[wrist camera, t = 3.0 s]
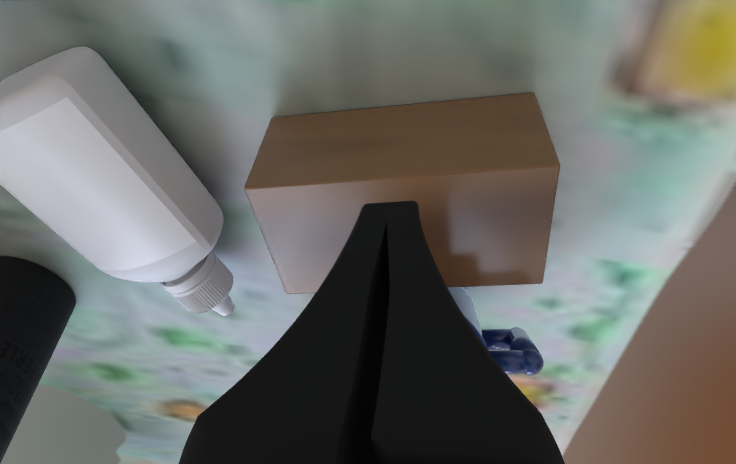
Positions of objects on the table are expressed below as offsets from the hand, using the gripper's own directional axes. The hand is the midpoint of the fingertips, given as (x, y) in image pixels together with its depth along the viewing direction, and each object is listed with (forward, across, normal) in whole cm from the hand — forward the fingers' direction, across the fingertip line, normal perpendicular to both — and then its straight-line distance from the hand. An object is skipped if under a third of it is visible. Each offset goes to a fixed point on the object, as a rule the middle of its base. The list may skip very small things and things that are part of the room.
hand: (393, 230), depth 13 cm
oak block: (+6, 0, +2) cm, 6 cm away
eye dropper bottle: (+4, +12, -4) cm, 13 cm away
